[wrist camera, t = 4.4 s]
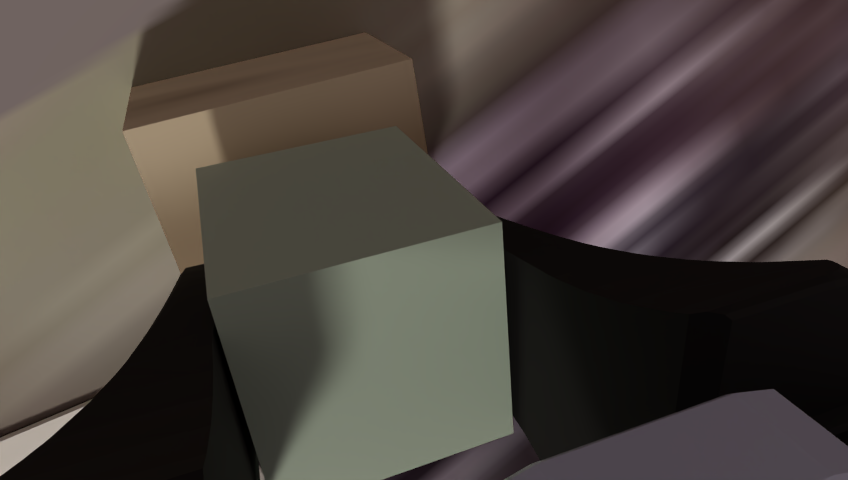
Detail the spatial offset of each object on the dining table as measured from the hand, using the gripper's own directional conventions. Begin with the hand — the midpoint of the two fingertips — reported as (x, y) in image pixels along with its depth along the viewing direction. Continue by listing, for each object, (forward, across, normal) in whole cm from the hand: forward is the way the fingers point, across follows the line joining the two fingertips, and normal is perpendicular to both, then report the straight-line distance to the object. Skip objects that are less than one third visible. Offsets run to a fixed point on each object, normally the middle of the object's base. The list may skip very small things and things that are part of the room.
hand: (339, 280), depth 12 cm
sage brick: (+2, 0, 0) cm, 2 cm away
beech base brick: (+7, 0, 0) cm, 7 cm away
